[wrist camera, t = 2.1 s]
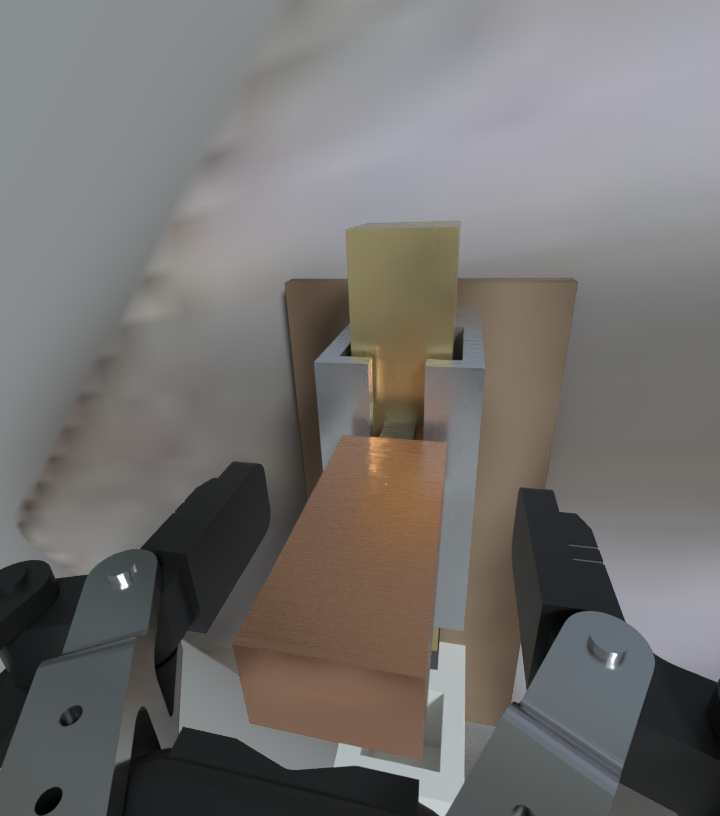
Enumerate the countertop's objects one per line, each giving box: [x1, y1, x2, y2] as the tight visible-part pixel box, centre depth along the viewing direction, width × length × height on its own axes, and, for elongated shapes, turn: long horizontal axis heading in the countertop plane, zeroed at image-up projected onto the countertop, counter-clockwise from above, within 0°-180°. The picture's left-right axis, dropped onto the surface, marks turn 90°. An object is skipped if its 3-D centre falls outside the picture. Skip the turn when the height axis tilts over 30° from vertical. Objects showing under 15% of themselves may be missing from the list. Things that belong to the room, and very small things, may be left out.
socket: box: [334, 642, 465, 816], centre depth 25 cm, size 6×6×8 cm
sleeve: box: [314, 307, 485, 631], centre depth 18 cm, size 5×10×7 cm, turn 2°
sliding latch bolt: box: [232, 221, 461, 761], centre depth 13 cm, size 3×17×12 cm, turn 2°
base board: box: [285, 278, 578, 726], centre depth 25 cm, size 12×28×1 cm, turn 2°
